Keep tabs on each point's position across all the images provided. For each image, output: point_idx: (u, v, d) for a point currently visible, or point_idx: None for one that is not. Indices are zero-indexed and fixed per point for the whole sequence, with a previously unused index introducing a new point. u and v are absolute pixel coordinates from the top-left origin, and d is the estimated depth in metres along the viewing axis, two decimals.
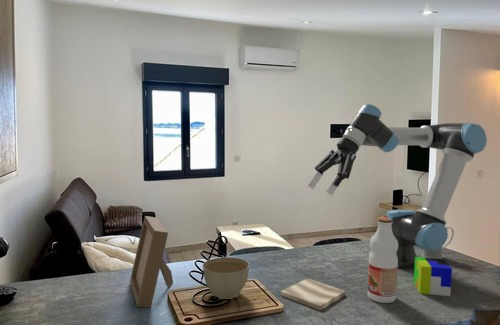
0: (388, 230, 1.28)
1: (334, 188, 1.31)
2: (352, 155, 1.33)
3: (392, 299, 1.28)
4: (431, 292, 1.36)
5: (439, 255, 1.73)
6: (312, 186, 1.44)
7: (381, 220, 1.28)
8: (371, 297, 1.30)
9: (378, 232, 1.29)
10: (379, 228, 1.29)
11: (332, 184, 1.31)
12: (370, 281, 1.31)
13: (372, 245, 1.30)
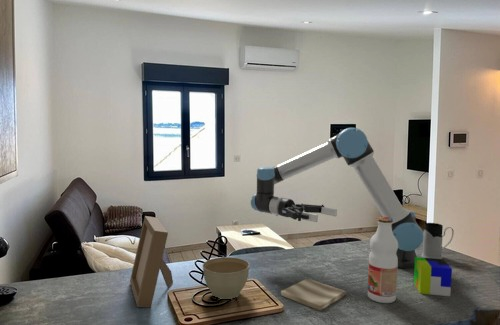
0: (388, 230, 1.28)
1: (311, 215, 1.42)
2: (283, 212, 1.51)
3: (392, 299, 1.28)
4: (431, 292, 1.36)
5: (439, 255, 1.73)
6: (334, 211, 1.51)
7: (381, 220, 1.28)
8: (371, 297, 1.30)
9: (378, 232, 1.29)
10: (379, 228, 1.29)
11: (309, 219, 1.42)
12: (370, 281, 1.31)
13: (372, 245, 1.30)
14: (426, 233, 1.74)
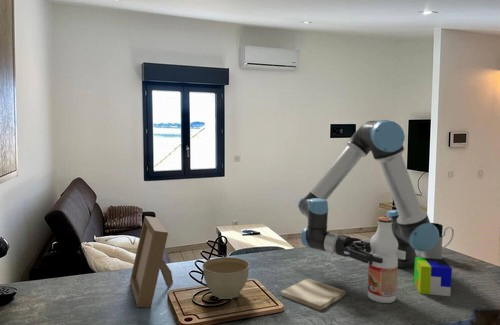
0: (388, 230, 1.28)
1: (385, 259, 1.25)
2: (345, 253, 1.33)
3: (392, 299, 1.28)
4: (431, 292, 1.36)
5: (439, 255, 1.73)
6: (402, 254, 1.31)
7: (381, 220, 1.28)
8: (371, 297, 1.30)
9: (378, 232, 1.29)
10: (379, 228, 1.29)
11: (383, 263, 1.26)
12: (370, 281, 1.31)
13: (372, 245, 1.30)
14: None
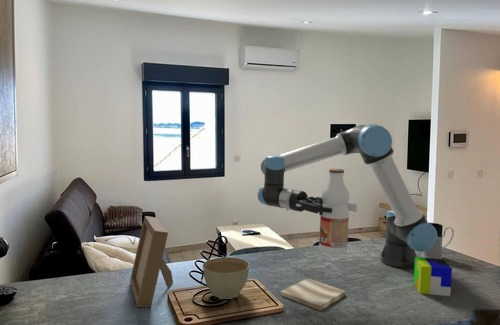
0: (339, 181, 1.27)
1: (334, 209, 1.24)
2: (297, 206, 1.32)
3: (342, 250, 1.27)
4: (431, 292, 1.36)
5: (439, 255, 1.73)
6: (354, 206, 1.30)
7: (332, 171, 1.27)
8: (322, 249, 1.29)
9: (329, 183, 1.28)
10: (330, 179, 1.28)
11: (332, 213, 1.25)
12: (321, 233, 1.30)
13: (323, 196, 1.29)
14: None
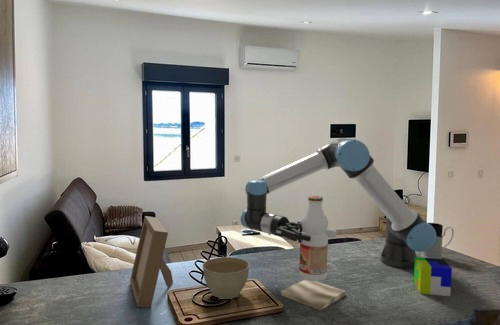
0: (317, 208, 1.29)
1: (312, 237, 1.26)
2: (277, 232, 1.34)
3: (321, 277, 1.29)
4: (431, 292, 1.36)
5: (439, 255, 1.73)
6: (333, 233, 1.32)
7: (310, 198, 1.29)
8: (301, 275, 1.31)
9: (308, 210, 1.30)
10: (309, 207, 1.30)
11: (311, 241, 1.26)
12: (300, 259, 1.31)
13: (302, 223, 1.30)
14: None
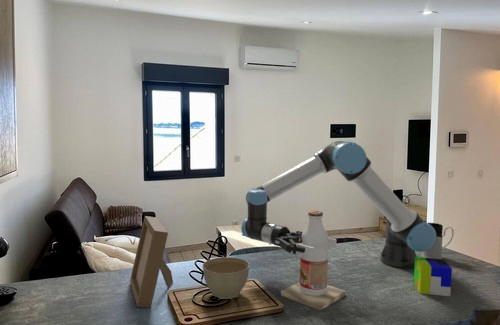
0: (317, 224, 1.29)
1: (307, 248, 1.26)
2: (276, 243, 1.35)
3: (321, 292, 1.30)
4: (431, 292, 1.36)
5: (439, 255, 1.73)
6: (333, 241, 1.34)
7: (311, 214, 1.30)
8: (302, 290, 1.32)
9: (308, 226, 1.30)
10: (309, 222, 1.30)
11: (305, 252, 1.26)
12: (301, 274, 1.32)
13: (302, 238, 1.31)
14: None
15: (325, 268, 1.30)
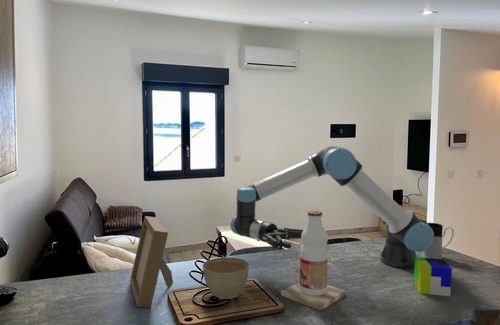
0: (317, 223, 1.29)
1: (293, 244, 1.29)
2: (263, 239, 1.38)
3: (321, 292, 1.30)
4: (431, 292, 1.36)
5: (439, 255, 1.73)
6: None
7: (310, 213, 1.30)
8: (302, 290, 1.32)
9: (308, 225, 1.31)
10: (309, 221, 1.31)
11: (291, 248, 1.29)
12: (301, 274, 1.32)
13: (302, 238, 1.31)
14: None
15: (325, 268, 1.30)
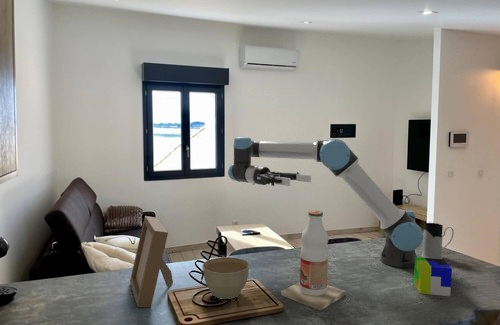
0: (318, 224, 1.29)
1: (283, 179, 1.43)
2: (258, 178, 1.52)
3: (321, 292, 1.30)
4: (431, 292, 1.36)
5: (439, 255, 1.73)
6: (308, 177, 1.52)
7: (311, 214, 1.30)
8: (302, 290, 1.32)
9: (308, 226, 1.30)
10: (309, 222, 1.30)
11: (282, 183, 1.44)
12: (301, 274, 1.32)
13: (302, 239, 1.31)
14: (426, 233, 1.74)
15: (325, 268, 1.30)
